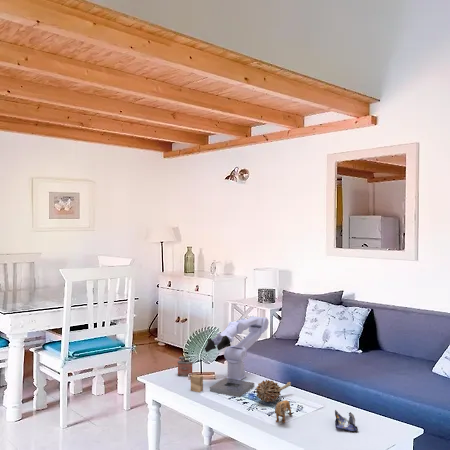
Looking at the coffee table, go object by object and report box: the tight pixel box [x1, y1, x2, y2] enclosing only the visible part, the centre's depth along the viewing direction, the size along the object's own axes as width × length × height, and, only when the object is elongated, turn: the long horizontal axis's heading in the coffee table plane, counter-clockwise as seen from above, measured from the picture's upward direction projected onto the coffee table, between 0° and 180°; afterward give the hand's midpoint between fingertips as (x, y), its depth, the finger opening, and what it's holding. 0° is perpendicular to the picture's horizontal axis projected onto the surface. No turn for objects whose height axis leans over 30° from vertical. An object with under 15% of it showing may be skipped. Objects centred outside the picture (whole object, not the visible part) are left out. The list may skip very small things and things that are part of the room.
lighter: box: [177, 356, 194, 378], centre depth 255 cm, size 8×3×10 cm, turn 84°
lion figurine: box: [274, 399, 292, 424], centre depth 200 cm, size 15×5×9 cm, turn 163°
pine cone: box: [254, 379, 292, 403], centre depth 222 cm, size 22×10×10 cm, turn 136°
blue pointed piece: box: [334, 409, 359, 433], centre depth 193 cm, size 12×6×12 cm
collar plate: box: [209, 377, 255, 398], centre depth 236 cm, size 16×16×2 cm
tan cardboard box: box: [190, 373, 204, 393], centre depth 233 cm, size 3×5×7 cm, turn 62°
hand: (211, 349), depth 233 cm, fingers open, 7 cm apart
